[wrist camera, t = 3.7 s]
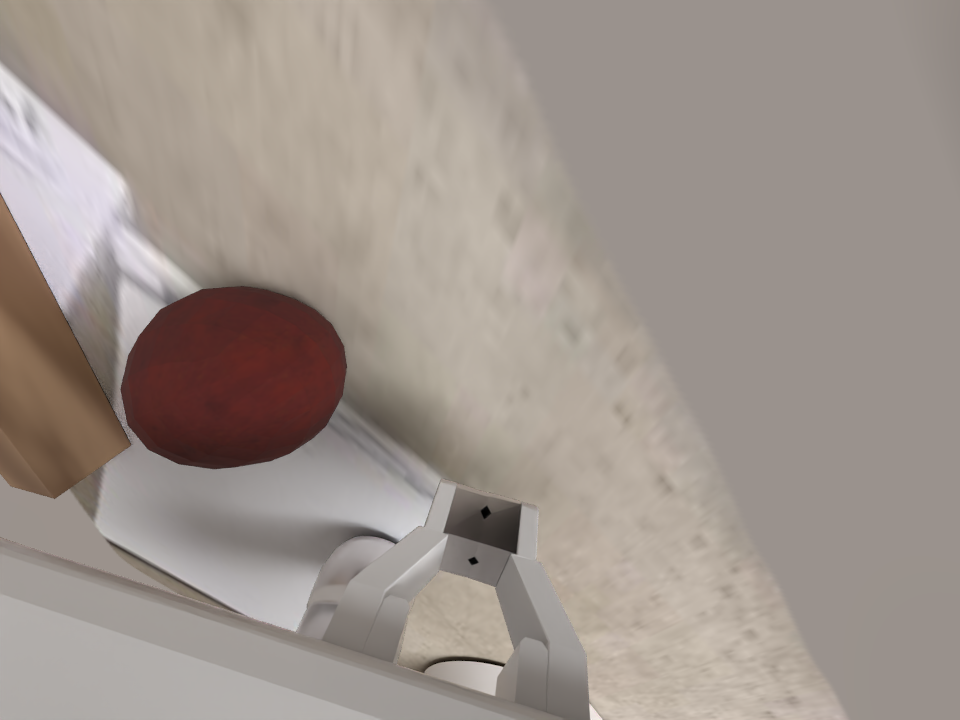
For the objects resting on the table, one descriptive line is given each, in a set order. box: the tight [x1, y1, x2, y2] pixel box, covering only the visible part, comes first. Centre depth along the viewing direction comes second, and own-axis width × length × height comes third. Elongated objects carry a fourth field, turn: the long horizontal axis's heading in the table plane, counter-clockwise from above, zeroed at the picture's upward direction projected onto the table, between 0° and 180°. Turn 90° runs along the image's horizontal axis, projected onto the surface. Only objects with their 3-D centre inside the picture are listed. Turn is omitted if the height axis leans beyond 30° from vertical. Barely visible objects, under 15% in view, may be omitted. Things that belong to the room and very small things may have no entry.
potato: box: [121, 286, 347, 469], centre depth 15 cm, size 7×8×7 cm
